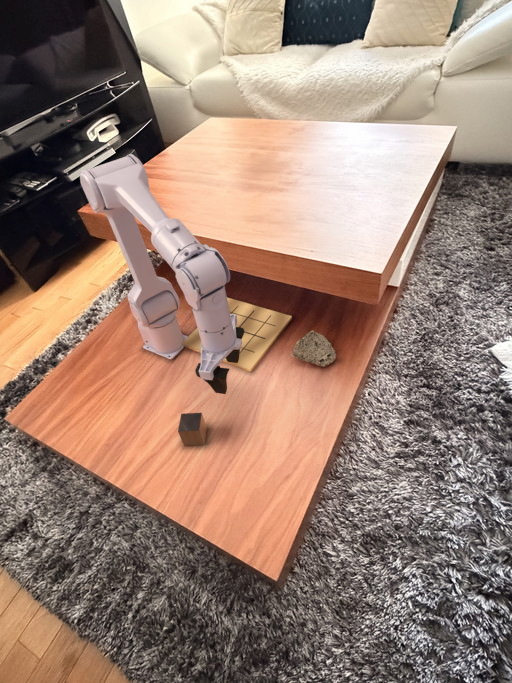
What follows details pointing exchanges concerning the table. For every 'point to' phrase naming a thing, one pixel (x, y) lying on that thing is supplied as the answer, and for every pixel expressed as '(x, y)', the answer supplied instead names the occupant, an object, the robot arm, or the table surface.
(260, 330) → the game board
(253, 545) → the table surface
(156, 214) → the robot arm
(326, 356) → the rock sample
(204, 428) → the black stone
